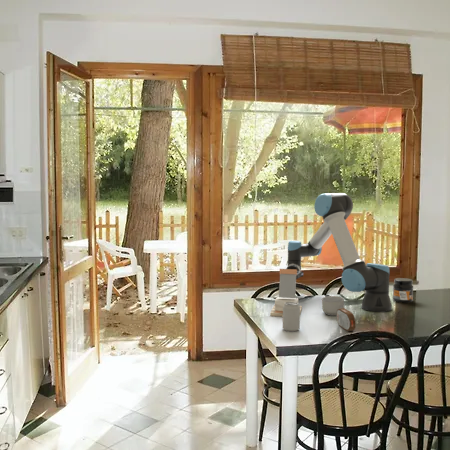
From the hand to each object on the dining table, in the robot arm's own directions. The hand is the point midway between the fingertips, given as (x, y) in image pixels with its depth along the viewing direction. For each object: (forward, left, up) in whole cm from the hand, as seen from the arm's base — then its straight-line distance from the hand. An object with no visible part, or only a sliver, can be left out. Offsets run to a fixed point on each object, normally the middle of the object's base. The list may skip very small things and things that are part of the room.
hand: (288, 278), depth 283 cm
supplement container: (-27, -61, -15) cm, 68 cm away
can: (-31, +29, -15) cm, 45 cm away
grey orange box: (-7, +8, -8) cm, 13 cm away
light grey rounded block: (-22, -9, -15) cm, 28 cm away
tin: (-44, +8, -15) cm, 47 cm away
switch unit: (-7, +8, -15) cm, 18 cm away
